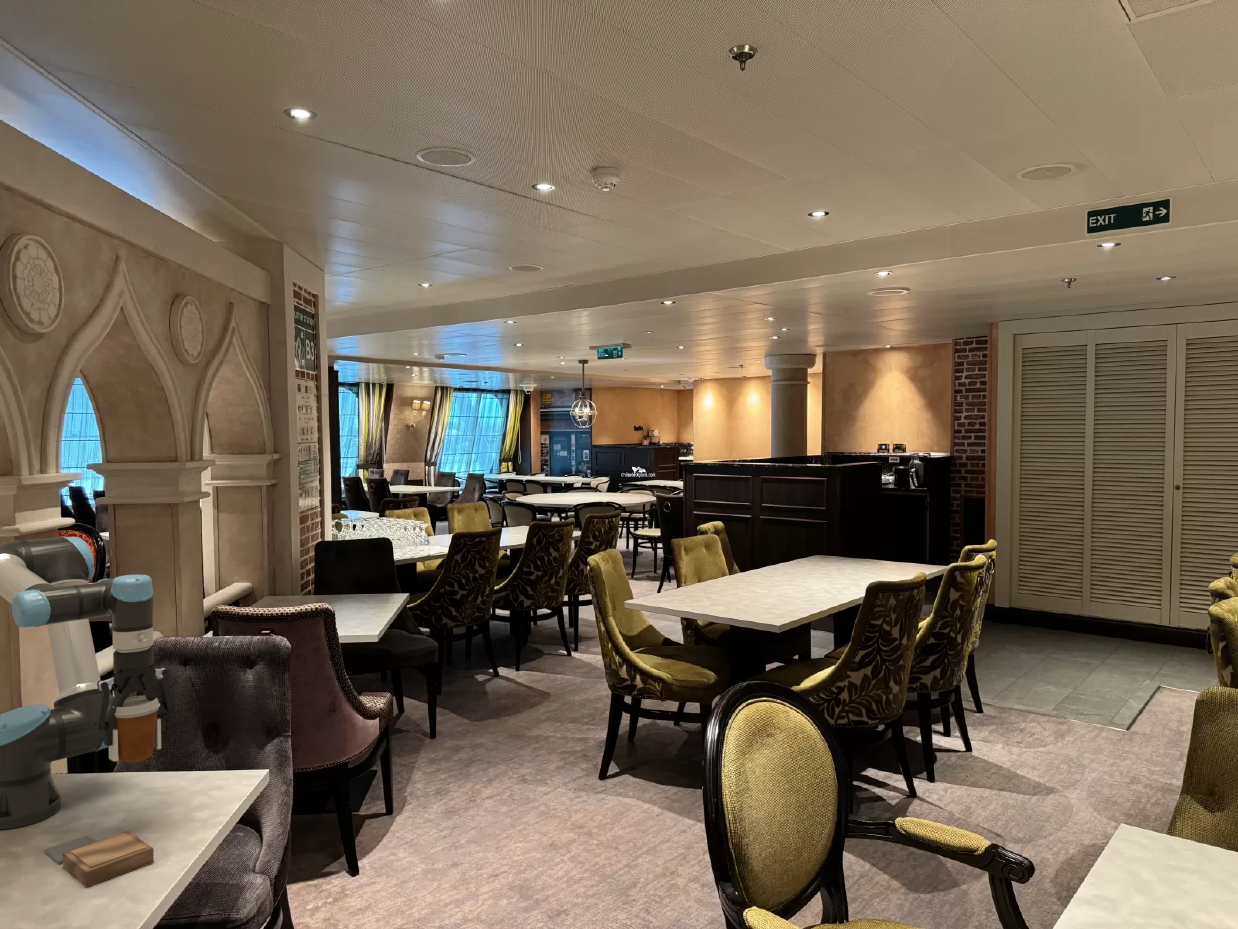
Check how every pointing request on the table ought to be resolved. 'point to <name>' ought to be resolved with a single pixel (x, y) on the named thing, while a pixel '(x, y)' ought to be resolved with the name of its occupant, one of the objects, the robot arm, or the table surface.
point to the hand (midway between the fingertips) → (135, 753)
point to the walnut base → (107, 858)
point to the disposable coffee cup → (136, 728)
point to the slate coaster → (67, 848)
